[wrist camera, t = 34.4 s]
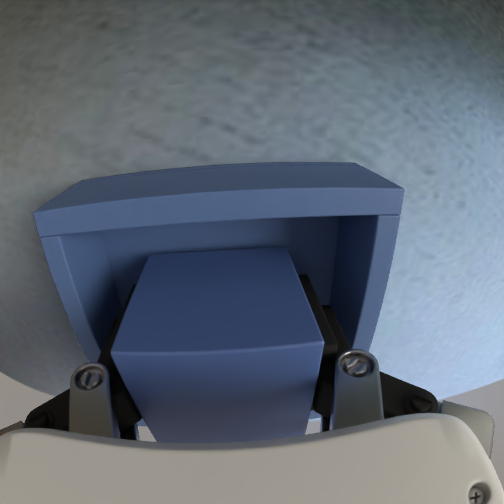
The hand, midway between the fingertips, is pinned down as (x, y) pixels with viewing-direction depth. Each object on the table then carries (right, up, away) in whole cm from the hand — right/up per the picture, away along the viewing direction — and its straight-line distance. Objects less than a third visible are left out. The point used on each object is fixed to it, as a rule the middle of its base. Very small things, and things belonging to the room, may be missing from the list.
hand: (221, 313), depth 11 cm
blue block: (0, 0, 0) cm, 0 cm away
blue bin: (0, +1, +1) cm, 2 cm away
